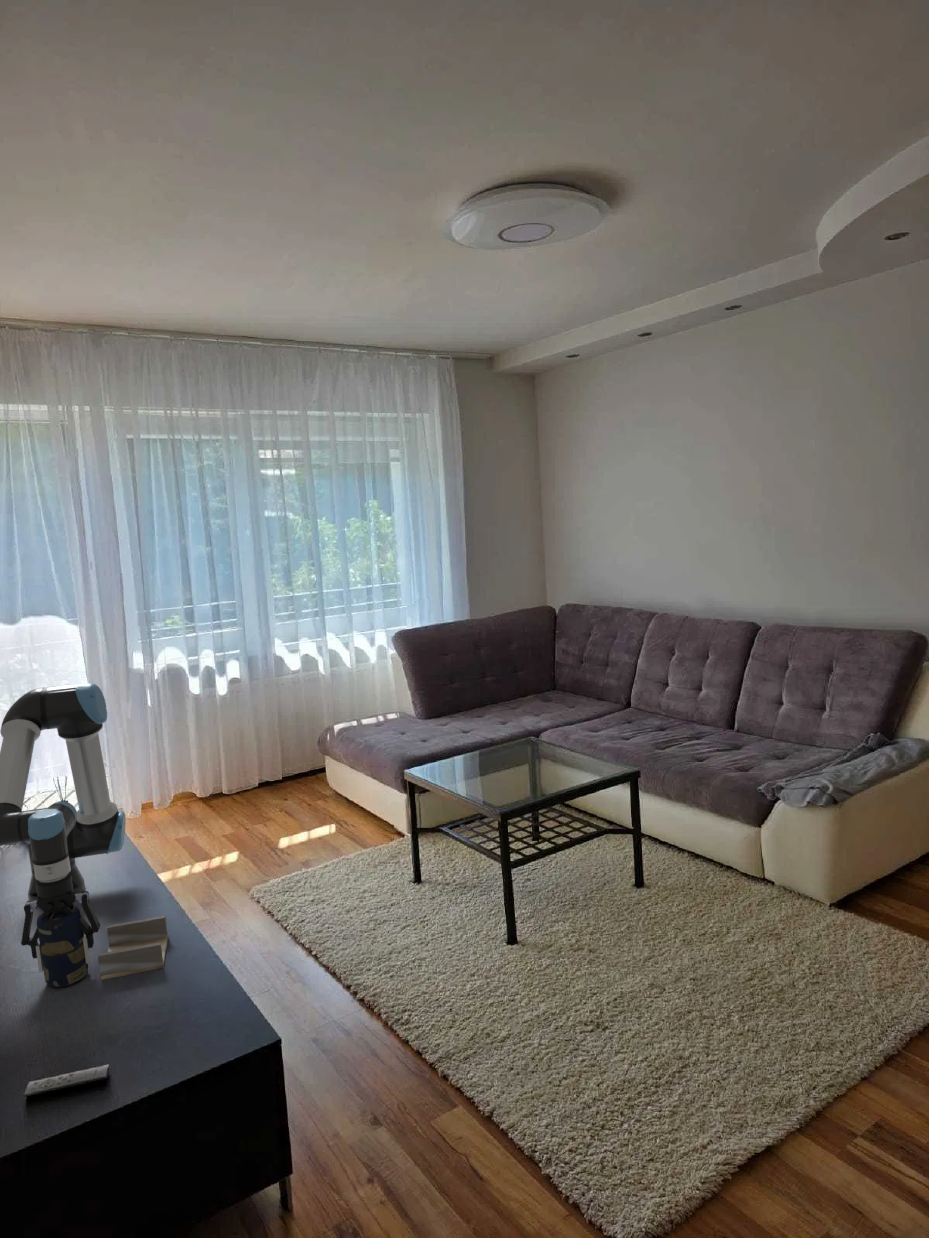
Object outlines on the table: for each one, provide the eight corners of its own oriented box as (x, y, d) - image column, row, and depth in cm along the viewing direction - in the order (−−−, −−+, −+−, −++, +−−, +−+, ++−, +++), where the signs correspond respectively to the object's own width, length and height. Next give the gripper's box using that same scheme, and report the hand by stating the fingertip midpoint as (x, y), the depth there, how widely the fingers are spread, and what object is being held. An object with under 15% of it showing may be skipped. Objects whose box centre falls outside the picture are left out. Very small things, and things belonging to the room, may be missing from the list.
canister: (98, 970, 200) (88, 900, 198) (67, 992, 191) (57, 920, 189) (67, 965, 203) (57, 896, 201) (36, 987, 195) (25, 915, 192)
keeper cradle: (110, 947, 211) (107, 925, 210) (168, 937, 214) (165, 915, 213) (101, 979, 196) (97, 956, 195) (163, 967, 200) (160, 944, 199)
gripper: (-4, 891, 187) (10, 982, 190) (101, 874, 193) (113, 963, 196) (5, 877, 195) (18, 966, 198) (106, 861, 200) (117, 947, 203)
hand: (65, 964), depth 197 cm, fingers closed on canister, 9 cm apart
